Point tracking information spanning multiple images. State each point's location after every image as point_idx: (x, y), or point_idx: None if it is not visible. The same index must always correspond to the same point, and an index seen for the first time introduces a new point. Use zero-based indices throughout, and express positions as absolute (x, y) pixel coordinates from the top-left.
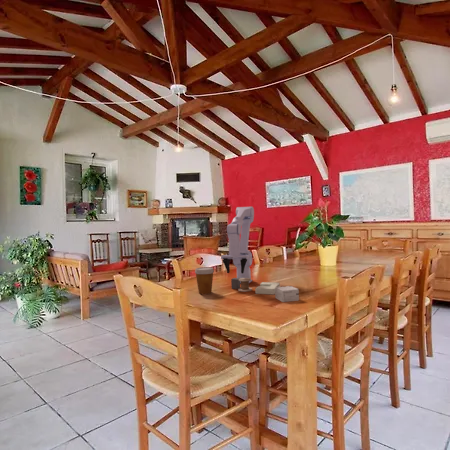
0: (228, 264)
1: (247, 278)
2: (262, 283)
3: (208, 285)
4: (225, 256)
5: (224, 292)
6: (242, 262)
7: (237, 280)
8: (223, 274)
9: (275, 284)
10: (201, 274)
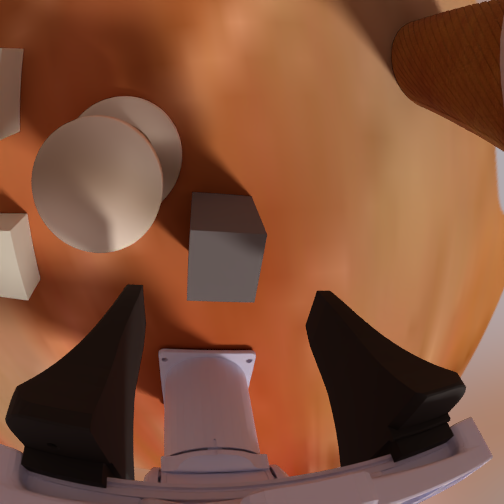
0: (347, 393)
1: (71, 219)
2: (5, 252)
3: (441, 13)
4: (447, 467)
5: (290, 53)
6: (64, 384)
7: (193, 224)
8: (325, 454)
9: None
10: None
